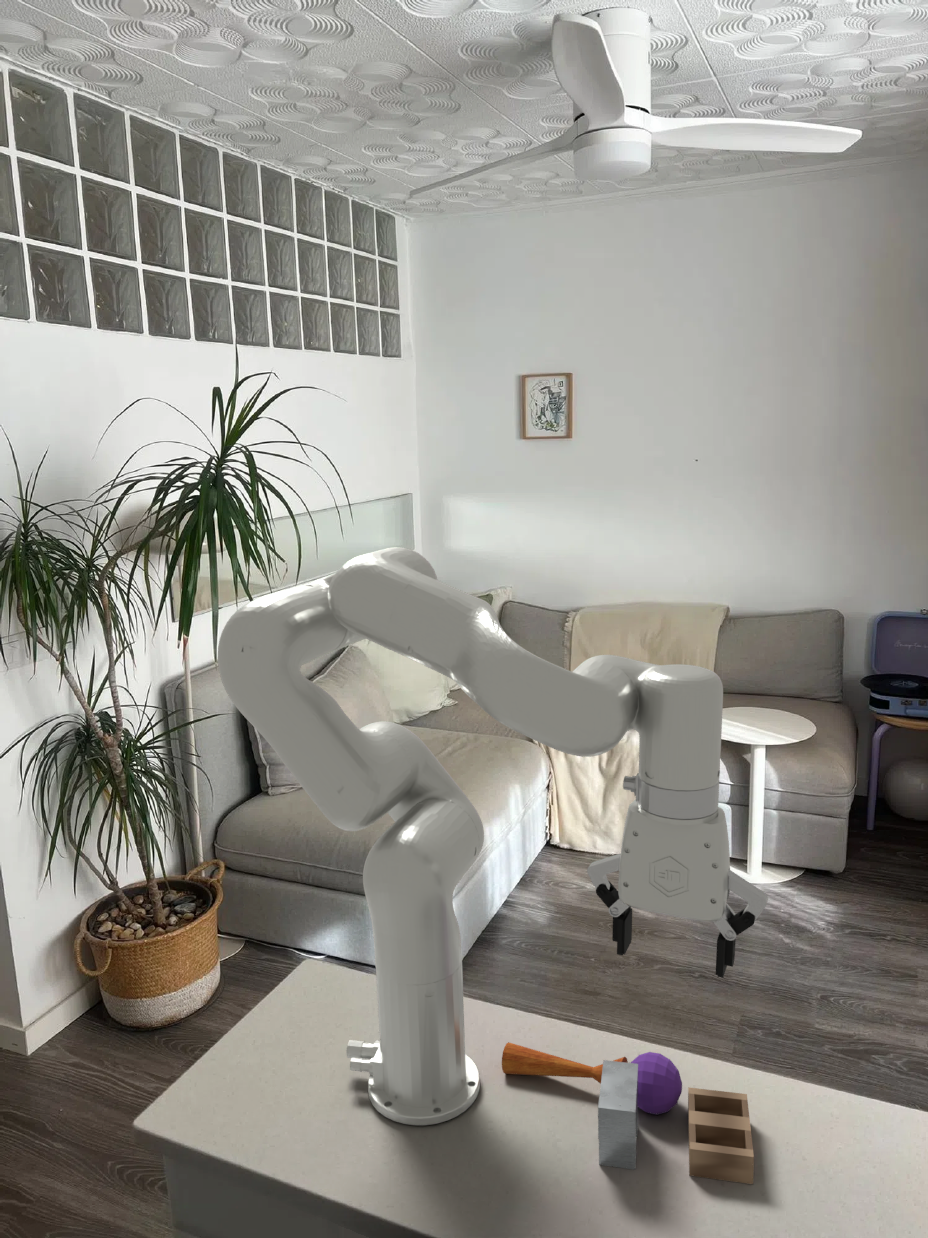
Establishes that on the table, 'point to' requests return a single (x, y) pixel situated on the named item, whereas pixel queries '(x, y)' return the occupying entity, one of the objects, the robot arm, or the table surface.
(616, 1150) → the steel brick
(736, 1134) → the wooden frame
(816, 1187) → the table surface
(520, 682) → the robot arm
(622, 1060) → the kendama
